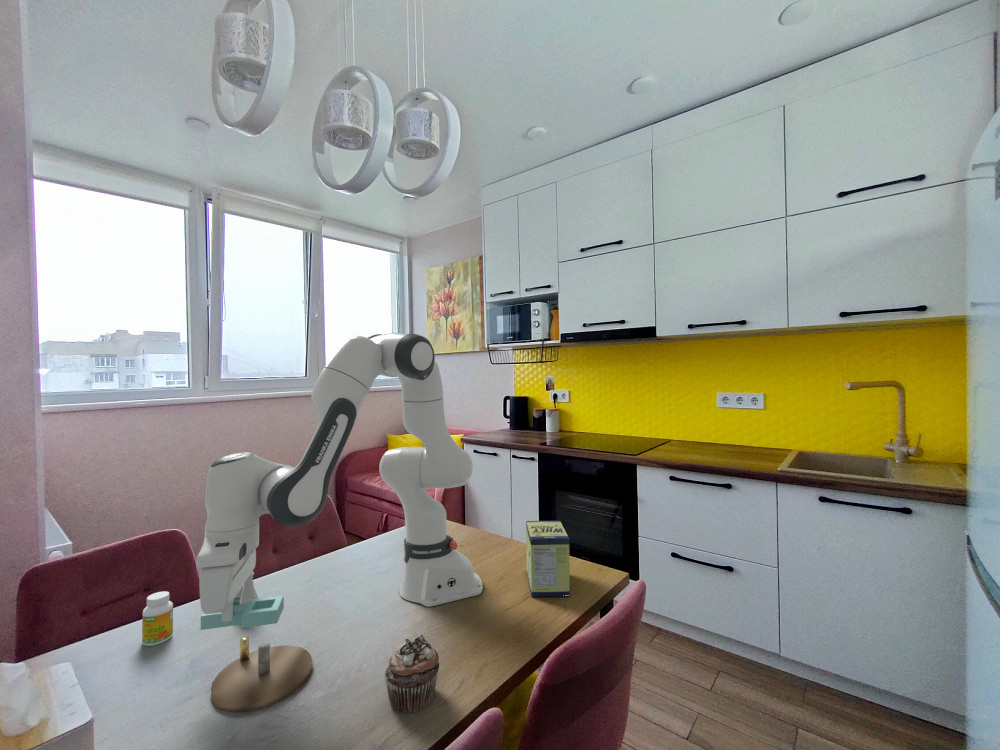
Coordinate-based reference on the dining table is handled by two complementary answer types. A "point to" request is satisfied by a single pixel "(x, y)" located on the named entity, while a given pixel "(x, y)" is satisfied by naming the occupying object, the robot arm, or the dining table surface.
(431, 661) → the cupcake
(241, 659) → the dowel
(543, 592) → the protein box
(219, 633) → the dining table surface
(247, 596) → the flask
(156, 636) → the supplement bottle
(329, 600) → the dining table surface
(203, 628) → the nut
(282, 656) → the disc base
